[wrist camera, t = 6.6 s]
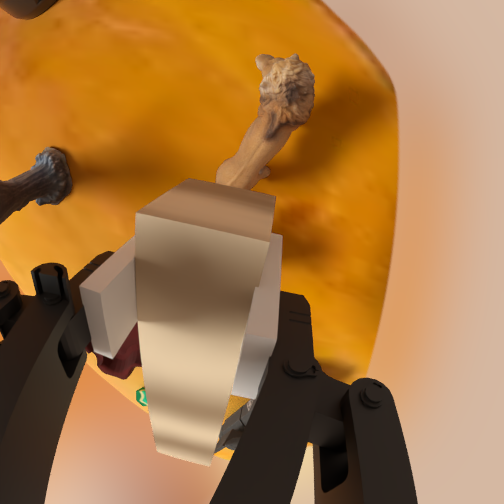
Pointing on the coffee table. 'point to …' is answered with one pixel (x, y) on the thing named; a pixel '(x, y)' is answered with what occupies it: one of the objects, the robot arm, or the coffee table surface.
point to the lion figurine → (271, 119)
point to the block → (196, 305)
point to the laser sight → (234, 427)
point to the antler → (37, 184)
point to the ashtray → (121, 356)
